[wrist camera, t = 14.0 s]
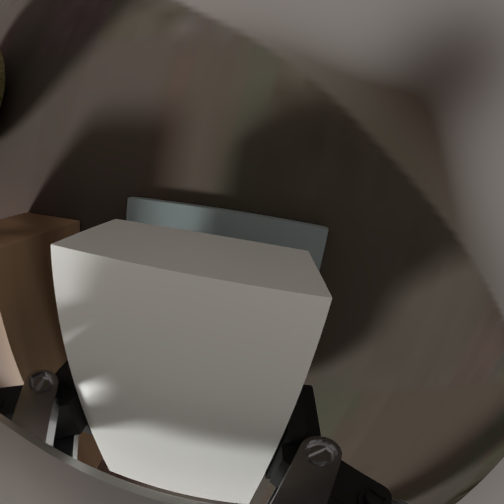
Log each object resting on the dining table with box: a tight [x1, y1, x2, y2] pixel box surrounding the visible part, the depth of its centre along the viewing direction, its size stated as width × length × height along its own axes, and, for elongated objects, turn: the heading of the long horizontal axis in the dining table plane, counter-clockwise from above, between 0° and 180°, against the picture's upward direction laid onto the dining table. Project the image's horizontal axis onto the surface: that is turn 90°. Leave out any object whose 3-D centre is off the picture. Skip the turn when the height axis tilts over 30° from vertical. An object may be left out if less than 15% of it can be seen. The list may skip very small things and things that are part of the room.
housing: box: [0, 212, 103, 469], centre depth 11 cm, size 4×18×6 cm, turn 171°
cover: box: [51, 219, 332, 504], centre depth 8 cm, size 6×10×3 cm, turn 171°
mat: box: [126, 196, 329, 270], centre depth 13 cm, size 8×12×1 cm
